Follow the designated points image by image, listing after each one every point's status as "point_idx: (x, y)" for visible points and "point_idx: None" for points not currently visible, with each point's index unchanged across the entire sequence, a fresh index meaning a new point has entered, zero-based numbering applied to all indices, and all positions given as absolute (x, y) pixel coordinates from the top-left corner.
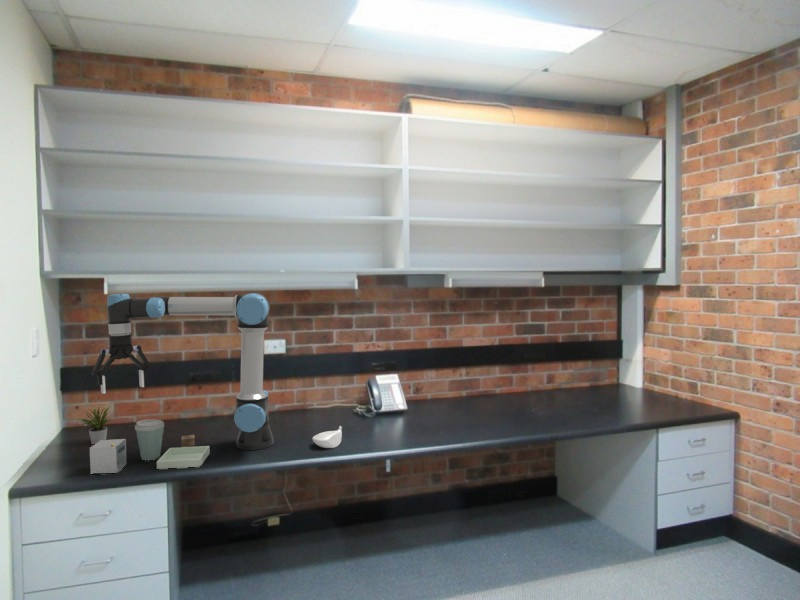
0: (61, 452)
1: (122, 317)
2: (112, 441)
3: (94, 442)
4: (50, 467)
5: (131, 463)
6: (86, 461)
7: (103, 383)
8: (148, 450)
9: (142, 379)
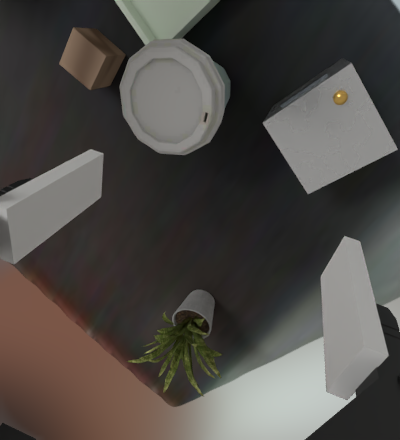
0: (276, 324)
1: None
2: (304, 140)
3: (212, 302)
4: None
5: (259, 102)
6: (297, 230)
7: (369, 294)
8: (219, 65)
9: (62, 172)
